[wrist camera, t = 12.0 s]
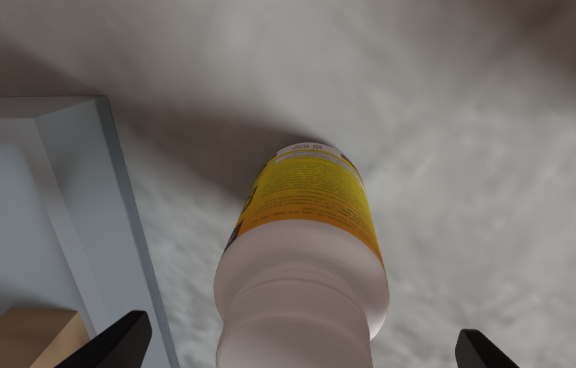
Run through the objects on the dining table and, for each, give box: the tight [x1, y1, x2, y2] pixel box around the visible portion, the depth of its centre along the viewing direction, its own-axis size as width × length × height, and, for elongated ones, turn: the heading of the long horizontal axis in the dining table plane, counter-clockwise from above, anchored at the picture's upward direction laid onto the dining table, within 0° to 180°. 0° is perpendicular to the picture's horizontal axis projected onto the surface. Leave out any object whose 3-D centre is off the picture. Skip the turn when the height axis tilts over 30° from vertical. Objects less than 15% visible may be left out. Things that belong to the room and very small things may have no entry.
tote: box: [0, 96, 180, 368], centre depth 20 cm, size 24×16×4 cm, turn 2°
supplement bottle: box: [214, 142, 389, 368], centre depth 12 cm, size 6×6×10 cm
